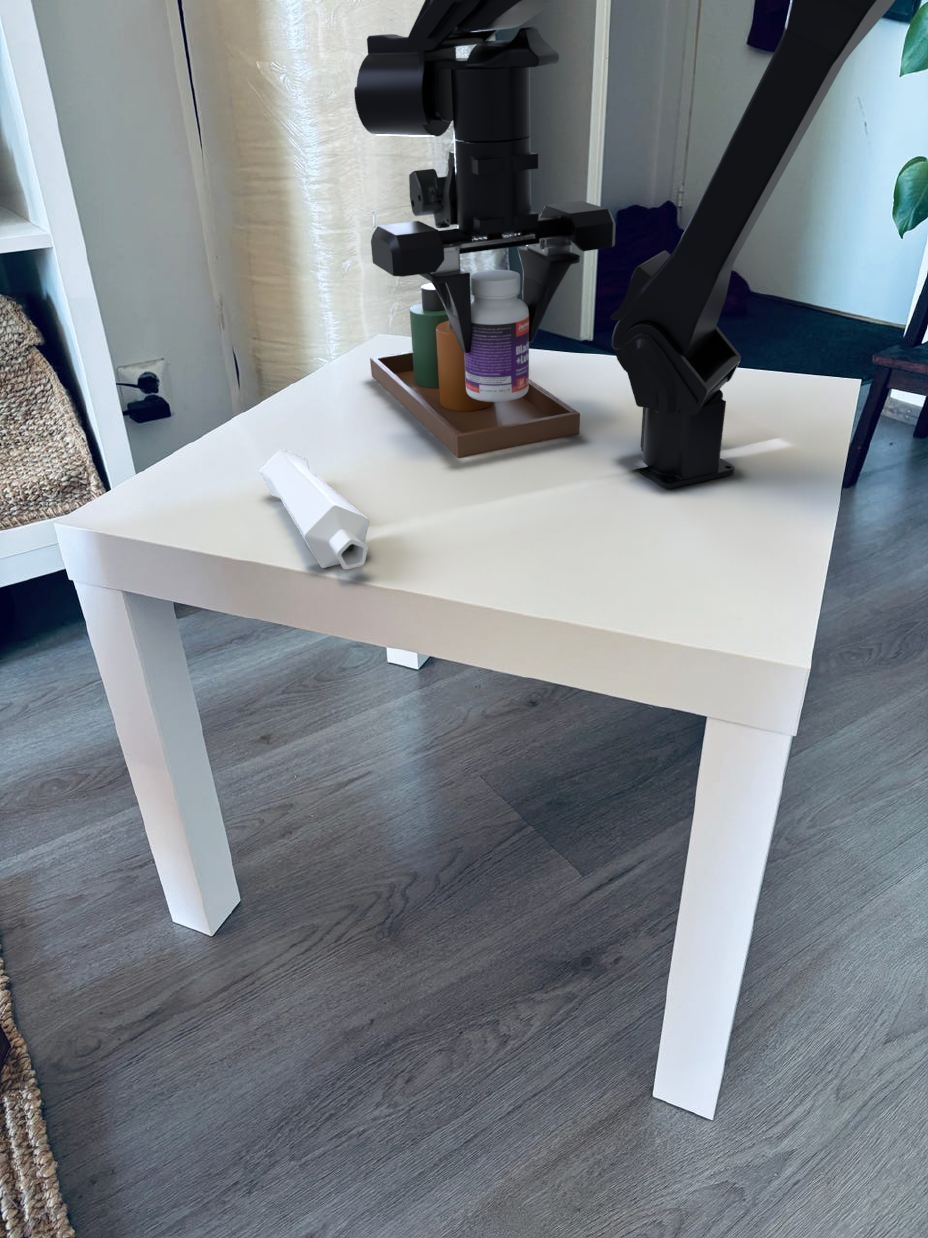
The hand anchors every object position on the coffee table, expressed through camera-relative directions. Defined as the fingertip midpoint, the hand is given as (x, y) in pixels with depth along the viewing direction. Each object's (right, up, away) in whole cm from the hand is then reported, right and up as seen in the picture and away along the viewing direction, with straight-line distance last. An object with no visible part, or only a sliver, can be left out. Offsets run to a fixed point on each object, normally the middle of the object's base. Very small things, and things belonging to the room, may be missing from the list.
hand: (497, 346), depth 80 cm
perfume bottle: (-16, -11, -5) cm, 21 cm away
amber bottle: (-2, -3, +9) cm, 10 cm away
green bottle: (-5, +1, +15) cm, 16 cm away
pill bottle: (0, -4, +2) cm, 4 cm away
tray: (-2, -3, +10) cm, 11 cm away
